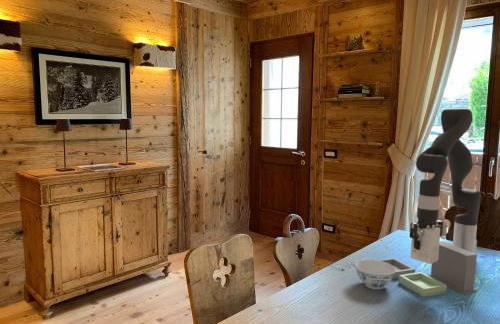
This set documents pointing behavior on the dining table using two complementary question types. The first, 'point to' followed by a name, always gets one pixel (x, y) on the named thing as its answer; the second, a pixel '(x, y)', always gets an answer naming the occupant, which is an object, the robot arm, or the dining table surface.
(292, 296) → the dining table surface
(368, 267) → the chinaware
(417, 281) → the sage tray
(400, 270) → the grey tray
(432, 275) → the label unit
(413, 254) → the small box
